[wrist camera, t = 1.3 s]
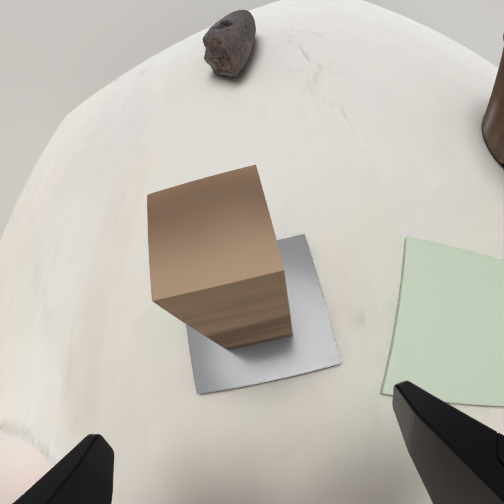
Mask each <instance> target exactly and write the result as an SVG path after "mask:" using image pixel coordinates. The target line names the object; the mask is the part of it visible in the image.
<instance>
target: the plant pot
mask: <svg viewBox="0 0 504 504" xmlns="http://www.w3.org/2000/svg"><path fill="white" fill-rule="evenodd" d="M503 39H504V35H503ZM482 131H483V135H484V138H485V141H486V143H487V145H488V147H489V149H490V151H491V152H492V154H493V155H494V157H495V158H496V159H497V161H498V162H499V163H501V164H504V48H503V53H502V58H501V62H500V66H499V69H498V73H497V77H496V80H495V84H494V87H493V91H492V94H491V97H490V100H489V103H488V107H487V110H486V112H485V115H484V118H483V121H482Z"/></svg>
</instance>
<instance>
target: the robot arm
mask: <svg viewBox="0 0 504 504" xmlns="http://www.w3.org/2000/svg"><path fill="white" fill-rule="evenodd" d="M393 409H394V412H395V415H396V418H397V420H398V423H399V426H400V429H401V432H402V435H403V438H404V441H405V444H406V446H407V449H408V452H409V454H410V456H411V458H412V460H413V462H414V464H415V466H416V469H417V471H418V473H419V475H420V477H421V479H422V481H423V483H424V485H425V487H426V489H427V492H428V494H429V496H430V498H431V500H432V502H433V504H504V435H502V434H500V433H497V432H496V431H495V430H493V429H491V428H489V427H488V426H486V425H484V424H482V423H481V422H479V421H477V420H475V419H474V418H472V417H470V416H468V415H466V414H465V413H463V412H461V411H460V410H458V409H456V408H454V407H453V406H451V405H449V404H447V403H446V402H444V401H442V400H441V399H439V398H437V397H435V396H434V395H432V394H430V393H429V392H427V391H425V390H424V389H422V388H420V387H418V386H417V385H415V384H413V383H412V382H410V381H407V380H406V381H403V382H400V383H397V384H395V385H394V388H393ZM113 471H114V451H113V449H112V448H111V446H110V445H109V444H108V443H107V442H106V440H105V439H104V438H103V437H102V436H101V435H100V434H89V435H87V436H86V437H85V438H84V439H83V440H82V441H81V442H80V443H79V444H78V445H77V446H76V447H74V448H73V449H72V450H71V451H70V452H69V453H68V454H67V455H66V456H65V457H64V458H63V459H61V460H60V461H59V462H58V463H57V464H56V465H55V466H54V467H53V468H52V469H51V470H50V471H48V472H47V473H46V474H45V475H44V476H43V477H42V478H41V479H40V480H39V481H37V482H36V483H35V484H34V485H33V486H32V487H31V488H30V489H29V490H28V491H26V492H25V494H24V495H22V496H21V497H20V498H19V499H18V500H16V501H15V502H14V503H13V504H111V502H112V493H113Z"/></svg>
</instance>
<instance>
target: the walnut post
mask: <svg viewBox="0 0 504 504" xmlns="http://www.w3.org/2000/svg"><path fill="white" fill-rule="evenodd" d="M147 213H148V244H149V264H150V280H151V293H152V301H153V302H154V303H156V304H157V305H159V306H160V307H162V308H163V309H165V310H166V311H168V312H169V313H171V314H172V315H173V316H175V317H176V318H178V319H179V320H181V321H182V322H184V323H185V324H187V325H189V326H190V327H192V328H193V329H195V330H196V331H198V332H199V333H201V334H202V335H204V336H206V337H207V338H209V339H210V340H212V341H213V342H215V343H217V344H218V345H220V346H222V347H223V348H225V349H226V350H230V349H235V348H240V347H245V346H250V345H254V344H259V343H263V342H268V341H272V340H276V339H281V338H285V337H289V336H293V331H292V323H291V316H290V308H289V301H288V293H287V286H286V279H285V272H284V267H283V263H282V260H281V256H280V252H279V248H278V244H277V241H276V237H275V233H274V229H273V226H272V222H271V218H270V214H269V211H268V207H267V203H266V200H265V196H264V192H263V189H262V185H261V182H260V178H259V174H258V171H257V167H256V165H253V166H249V167H245V168H241V169H237V170H233V171H229V172H225V173H221V174H218V175H214V176H210V177H206V178H203V179H199V180H196V181H192V182H189V183H185V184H182V185H178V186H175V187H171V188H168V189H165V190H161V191H158V192H155V193H152V194H148V195H147Z"/></svg>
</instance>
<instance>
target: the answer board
mask: <svg viewBox="0 0 504 504" xmlns="http://www.w3.org/2000/svg"><path fill="white" fill-rule="evenodd" d="M406 380H407V381H410V382H412V383H413V384H415V385H417V386H418V387H420V388H422V389H424V390H425V391H427V392H429V393H430V394H432V395H434V396H435V397H437V398H439V399H441V400H442V401H444V402H448V403H458V404H470V405H484V406H504V260H501V259H497V258H494V257H490V256H486V255H482V254H479V253H475V252H471V251H467V250H463V249H459V248H455V247H451V246H447V245H443V244H439V243H435V242H430V241H426V240H422V239H418V238H413V237H409V236H407V237H406V239H405V245H404V257H403V267H402V276H401V284H400V292H399V299H398V306H397V313H396V319H395V325H394V331H393V337H392V342H391V347H390V352H389V357H388V362H387V367H386V371H385V376H384V380H383V385H382V389H381V393H382V394H388V395H393V388H394V385H395V384H397V383H400V382H403V381H406Z"/></svg>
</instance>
